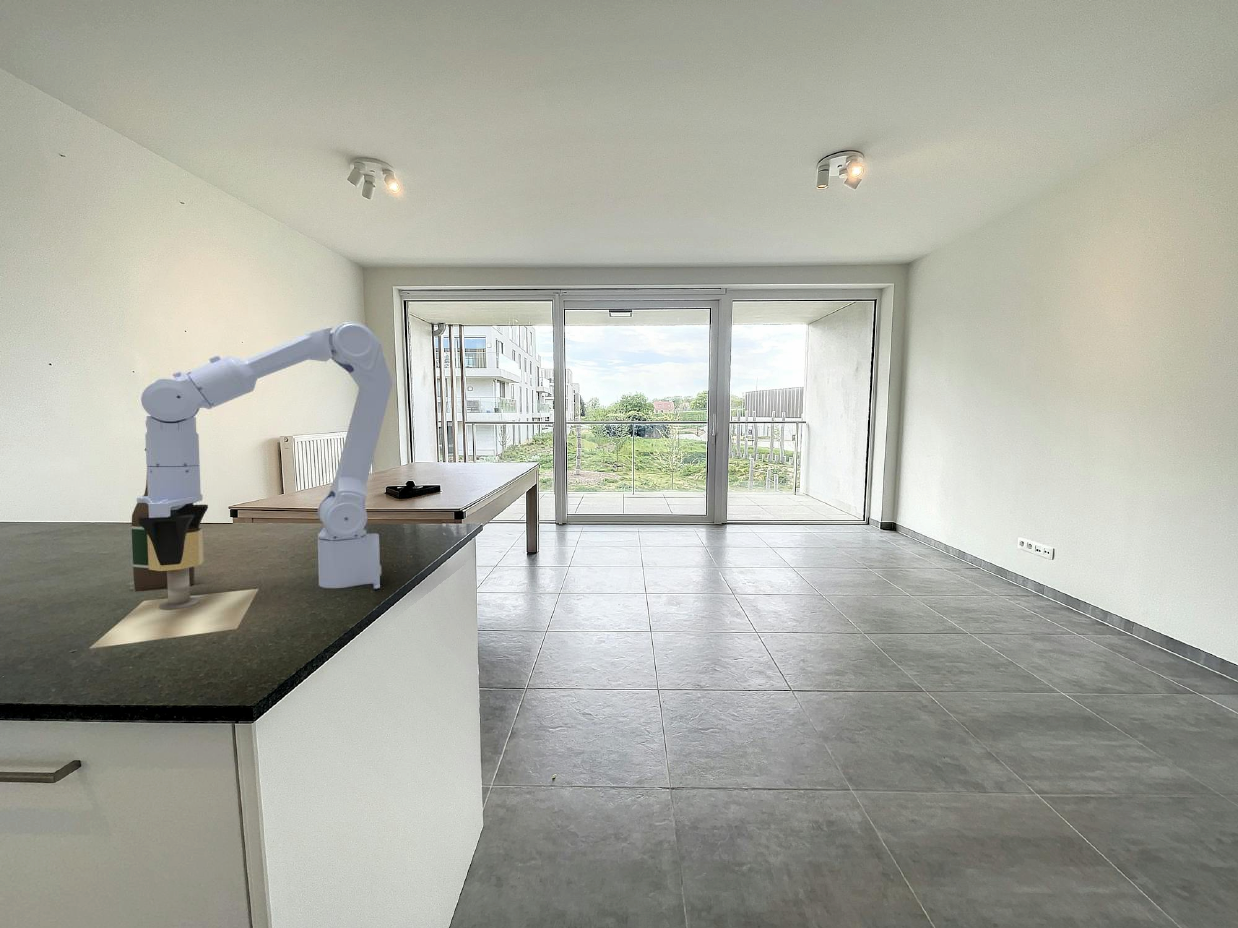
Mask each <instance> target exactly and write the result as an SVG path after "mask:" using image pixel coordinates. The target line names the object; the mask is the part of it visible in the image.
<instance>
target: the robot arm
mask: <svg viewBox="0 0 1238 928" xmlns="http://www.w3.org/2000/svg"><path fill="white" fill-rule="evenodd" d="M333 328H334V326H328V327H324V328H321V329H318V330H314V331H311V332H308V333H304V334H303V335H301V336H299V337H296V338H293V339H291V340H289V341H287V342H284V343H282V344H280V345H277V346H274V347H272V348H270V349H268V350H265V351H263V352H260V353H258V354H257V355H254V356H250V357H249V358H246V359H241V358H238V357H234V356H230V355H229V356H225V357H222V358H221V357H220V356H219V355H215V356H213V357H211V358H208V360H209V362H210V363H207V364H204V365H202V366H199V367H197V368H194V369H192V370H191V369H190V370H189V371H187V372H183V373H182V371H181V370H180V371H179V370H178V371H175V372H173V373H172V376H173V378H159V379H158V378H157V380H156V381H154V382H153V383H151V384H149V385H148V386H147V387H145V389H144V390H143V392H142V393H141V398H140V399H141V401H140V402H141V405H142V409H143V410H144V411H145V412H146V414H148V415H146V420H145V427H146V432H145V435H144V437H145V448H146V451H145V460H146V478H147V486H148V496H143V495H141V496H138V497H136V504H137V503H147V504H148V506H149V515H141V516H139V517H138V522H139V524H140V525H141V526H142V527H143V529H144V530H145V531H146V533H147V534H148V536H149V537H150V539H151V542H152V544H153V547H154V550H155V553H156V556H157V559H158V561H159V563H160V565H161V566H163V565H175V564H180V563H181V560H182V557H183V551H184V543H185V537H186V533H187V530H188V527H194V528H200V526H201V523H202V521H203V518H204V516H205V514H206V512H207V511H208V508H209V505H208V504H196V503H198V502H201V501H203V494H202V493H201V492H202V491H201V469H200V468H201V467H200V466H201V465H200V463H201V461H200V435H199V433H198V432H197V418H196V415H198V413H199V411H200V409H207V410H211V409H213V408H216V407H218V406H220V405H223V404H225V403H228V402H229V401H233V400H235V399H237V398H239V397H242V396H244V395H247V394H249V393H251V392H253V391H254V390H255V388H256V383H257V380H258V379H260V378H263V377H266V376H269V375H272V374H274V373H277V372H279V371H282V370H285V369H287V368H290V367H293V366H295V365H298V364H300V363H303V362H306V361H308V360H309V361H316V362H317V361H319V362H324V363H325V362H328V361H329V360H331V361H333V362H334V363H335V364H337V365H338V366H339V367H341V368H342V369H343V370H345V371H346V372H348V374H349V375H350V377H351V378H352V380H353V381H354V382H355V384H356V385H357V386H358V392H357V395H356V398H355V402H354V407H353V410H352V413H351V414H352V415H351V417H350V422H349V424H348V430H347V433H346V436H345V440H344V444H343V448H342V451H341V455H340V459H339V462H338V465H337V470H336V474H335V476H334V479H333V481H332V482H331V485H330V488H329V491H328V494H327V495H326V496H325V497H324V498H323V500H321V502H320V503H319V505H318V509H317V517H318V519H319V521H320V522H321V523H322V524H323V525H324V526H323V528H322V529H321V531H320V532H319V533H318V534H317V553H318V554H317V557H318V558H317V561H318V586H319V587H321V588H325V589H342V588H343V589H344V588H348V587H349V588H351V587H355V586H361V585H362V586H363V585H370V584H371V585H372V584H373V589H374V590H378V588H379V589H380V588H381V583H380V582H381V581H380V580H381V576H382V565H381V564H380V556H381V554H380V535H379V533H367V529H366V528H365V526H366V524H367V521H368V512H367V509H366V500H367V497H368V490H367V489H368V488H367V487H368V486H367V483H368V479H369V475H370V472H371V468H372V463H373V460H374V455H375V452H376V449H377V445H378V441H379V437H380V433H381V429H382V426H383V422H384V419H385V415H386V410H387V406H388V403H389V399H390V395H391V392H392V389H393V380H392V377H391V373H390V369H389V368H388V365H387V362H386V359H385V356H384V351H383V343H381V341H380V340H379V339H378V337H377V336H376V335H375V334H374V333H373V332H372V330H371V329H370V328H369V327H368V326H366V325H364V324H362V323H360V322H357V321H346V322H343V323H341V324H339V325H338V326H337V327H336V328H335V329H334V330H333ZM332 330H333V332H332V333H331V331H332Z"/></svg>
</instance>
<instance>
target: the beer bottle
mask: <svg viewBox="0 0 1238 928" xmlns="http://www.w3.org/2000/svg"><path fill="white" fill-rule="evenodd" d="M144 451H145V452H146V447H144ZM142 496H148V486H147V477H146V483H145V490H144V494H143V495H142ZM141 515H149V506H148V504H147V503H137V502H136V505H135V506H134V509H133V511H132V515H131V525H130V526H131V543H132V544H131V545H132V546H131V548H132V568H133V569H132V571H133V586H134V592H147V591H155V590H156V591H157V590H164V589H165V590H168V583H167V571H156V570H149V564H148V540H147V533H146V531H145V530H144V529H143V527H142V526H141V525H140V524H139V522H138V517H139V516H141ZM194 581H195V566H194V567H189V585H190V587H193V584H194V583H195V582H194Z"/></svg>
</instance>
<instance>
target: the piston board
mask: <svg viewBox="0 0 1238 928" xmlns="http://www.w3.org/2000/svg"><path fill="white" fill-rule="evenodd" d="M167 583H168V589H167V598H159V599H158V598H157V599H149V600H143V601H142V602H141V603H139V605H138V606H136V607H135V608H134V609H133V610H132V611H130V612H129V613H128V614H127V615H125V617H123V619H121V620H120V621H119V622H118V623H117V624H116V625H115V626H113V627H112V628H111V629H110V630H109V631H107V632H106V633H105V634H104V635H102V637H100V638H99V639H98V640H97V641H96V642H94V643H93V644H92V645H91V646H90V647H89V648H88V649H89V650H92V649H98V648H106V647H112V646H121V645H126V644H127V645H128V644H134V643H142V642H149V641H157V640H159V641H160V640H164V639H172V638H174V639H175V638H179V637H186V636H187V637H188V636H194V635H203V634H209V633H211V634H212V633H218V632H223V631H230V630H231V631H232V630H237V629H238V627H239V626H240V624H241V622H242V620H243V619H244V617H245V615H246V613H247V612H248V609H249V608H250V606H251V605H252V602H253V600H254V598H255V597H256V595H257V593H258V592H259V589H260V588H254V589H243V590H235V591H223V592H216V593H215V592H214V593H206V594H205V593H204V594H198V595H191V594H190V593H191V590H190V589H191V586H190V585H189V568H185V569H179V570H168V571H167Z"/></svg>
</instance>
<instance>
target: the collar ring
mask: <svg viewBox="0 0 1238 928" xmlns="http://www.w3.org/2000/svg"><path fill="white" fill-rule="evenodd" d="M147 540H148V564H149V570H156V571H168V570H179V569H185V568H189V567H194V568H195V567H197V566H200V565H201V564H203V562H204V561H205V560H204V536H203V528H201V527H199V528H194V527H188V530H187V533H186V537H185V543H184V551H183V557H182V560H181V563H180V564H175V565H163V566H161V565H160V563H159V561H158V559H157V556H156V553H155V550H154V547H153V544H152V542H151V539H150V537H149V536H148V534H147Z"/></svg>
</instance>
